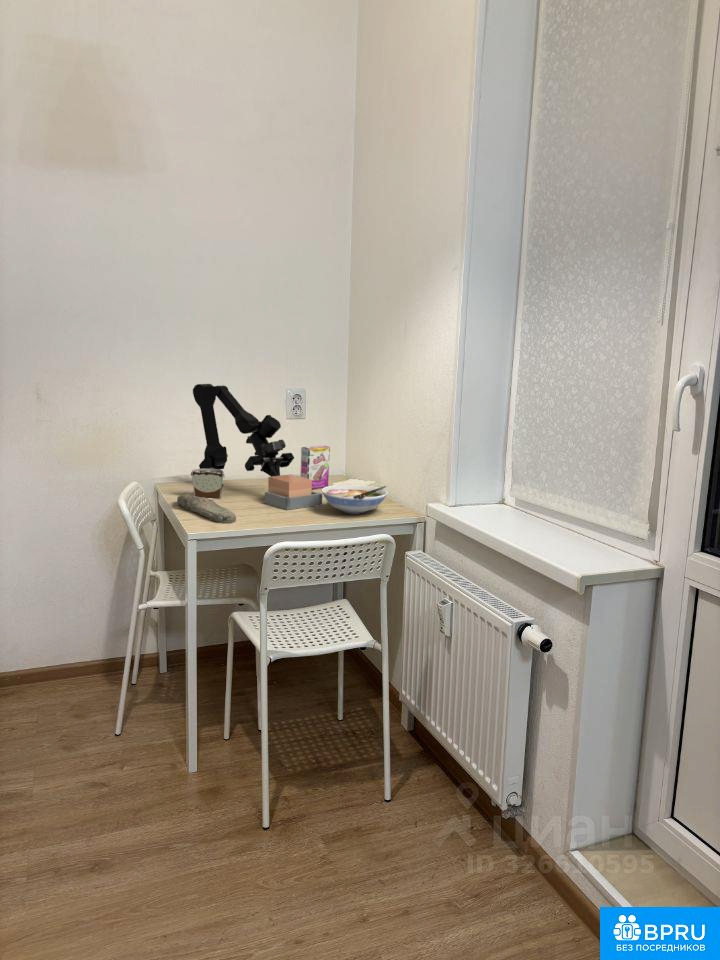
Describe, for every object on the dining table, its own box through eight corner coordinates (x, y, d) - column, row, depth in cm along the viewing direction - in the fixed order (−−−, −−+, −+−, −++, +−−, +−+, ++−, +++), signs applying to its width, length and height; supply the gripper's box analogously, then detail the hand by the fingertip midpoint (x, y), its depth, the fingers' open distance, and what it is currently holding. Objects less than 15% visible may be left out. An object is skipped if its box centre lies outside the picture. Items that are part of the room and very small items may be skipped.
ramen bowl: (340, 501, 282) (341, 479, 281) (398, 509, 272) (399, 486, 271) (306, 514, 260) (307, 490, 258) (368, 523, 250) (369, 498, 249)
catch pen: (264, 503, 274) (264, 492, 274) (299, 498, 285) (299, 487, 284) (287, 510, 265) (287, 498, 264) (322, 504, 275) (322, 493, 274)
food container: (228, 496, 284) (228, 469, 282) (224, 499, 278) (224, 472, 276) (195, 494, 285) (195, 467, 283) (190, 497, 279) (190, 470, 277)
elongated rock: (215, 530, 241) (243, 528, 247) (216, 513, 240) (245, 512, 246) (169, 502, 268) (195, 501, 274) (170, 488, 267) (196, 486, 273)
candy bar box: (308, 490, 299) (309, 448, 296) (299, 488, 303) (300, 446, 300) (329, 487, 307) (330, 446, 304) (320, 485, 311) (321, 444, 308)
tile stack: (268, 501, 277) (268, 476, 276) (290, 498, 284) (290, 474, 282) (288, 507, 269) (289, 482, 267) (311, 504, 275) (311, 479, 274)
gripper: (249, 433, 274) (267, 469, 268) (291, 431, 287) (309, 464, 281) (236, 453, 281) (254, 487, 275) (278, 449, 294) (296, 482, 288)
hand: (279, 480), depth 280 cm, fingers closed, pressing on tile stack
